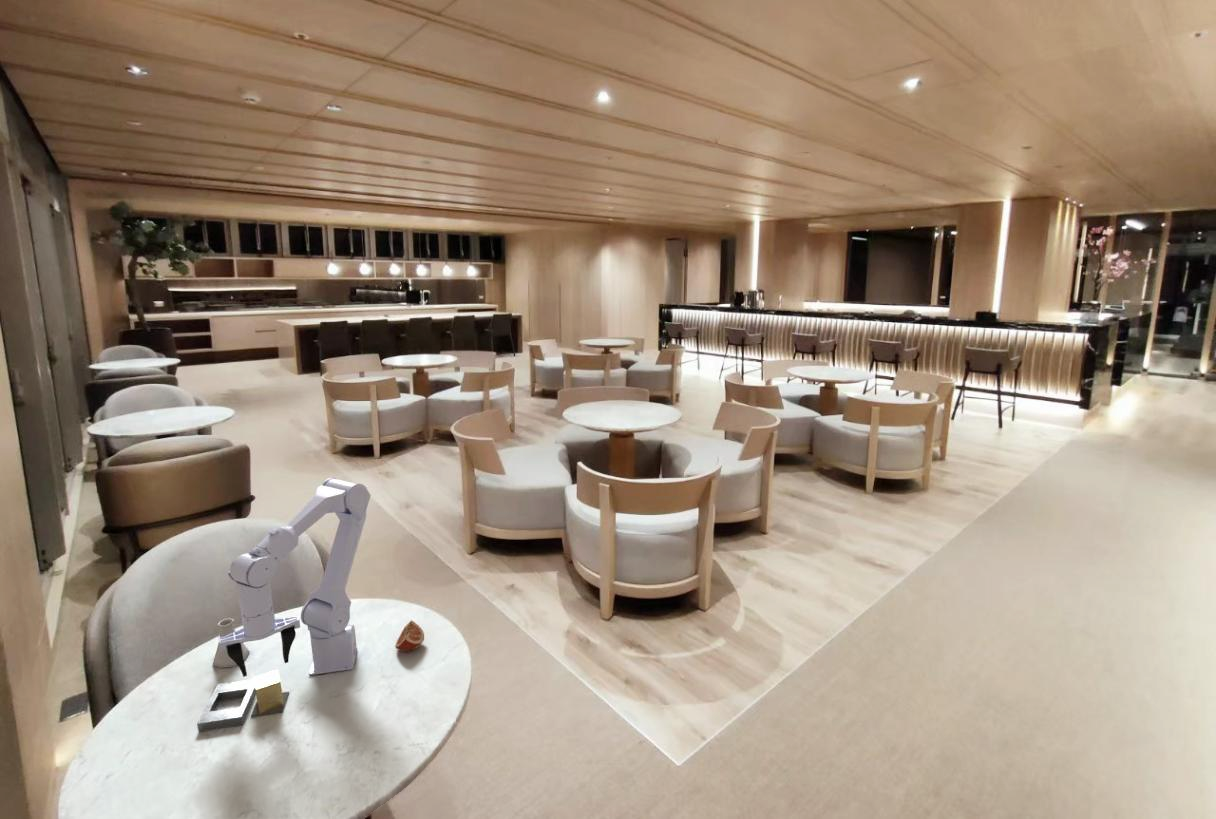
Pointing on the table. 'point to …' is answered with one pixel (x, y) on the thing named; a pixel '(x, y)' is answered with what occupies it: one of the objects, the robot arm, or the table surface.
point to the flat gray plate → (276, 710)
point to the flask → (222, 656)
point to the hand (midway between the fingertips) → (265, 666)
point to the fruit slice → (410, 637)
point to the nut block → (268, 691)
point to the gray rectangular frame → (227, 716)
